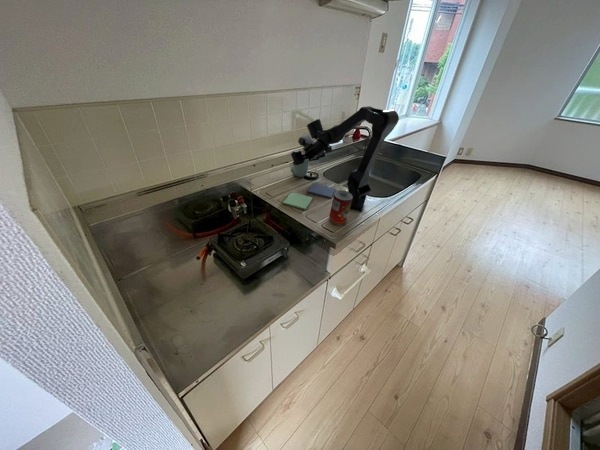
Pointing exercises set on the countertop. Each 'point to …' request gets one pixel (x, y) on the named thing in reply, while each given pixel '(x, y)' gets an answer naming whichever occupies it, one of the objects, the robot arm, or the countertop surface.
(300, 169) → the cup
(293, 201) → the cup mat
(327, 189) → the can mat
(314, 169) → the countertop surface
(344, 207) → the soda can
